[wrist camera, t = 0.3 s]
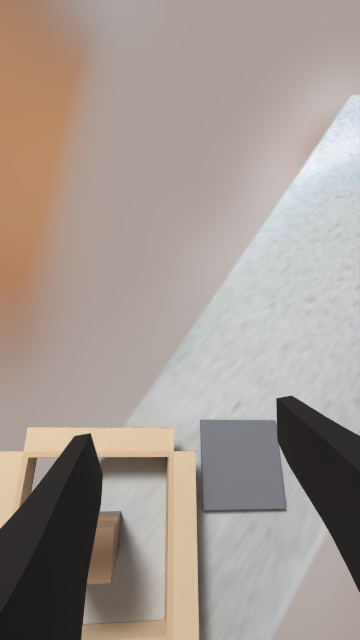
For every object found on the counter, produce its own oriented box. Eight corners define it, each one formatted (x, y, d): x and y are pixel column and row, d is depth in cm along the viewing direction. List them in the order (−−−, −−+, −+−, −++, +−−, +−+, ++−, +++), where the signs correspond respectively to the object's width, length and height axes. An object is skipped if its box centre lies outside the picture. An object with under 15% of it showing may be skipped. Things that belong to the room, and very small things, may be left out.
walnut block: (117, 554, 33) (110, 583, 26) (70, 555, 33) (49, 586, 25) (120, 511, 35) (114, 527, 27) (75, 512, 34) (57, 528, 27)
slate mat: (284, 507, 37) (286, 508, 36) (202, 509, 36) (203, 510, 35) (273, 420, 41) (275, 420, 40) (200, 420, 40) (200, 419, 39)
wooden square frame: (194, 658, 30) (199, 679, 28) (-35, 675, 28) (-54, 699, 25) (191, 429, 39) (194, 428, 36) (15, 429, 37) (4, 427, 34)
